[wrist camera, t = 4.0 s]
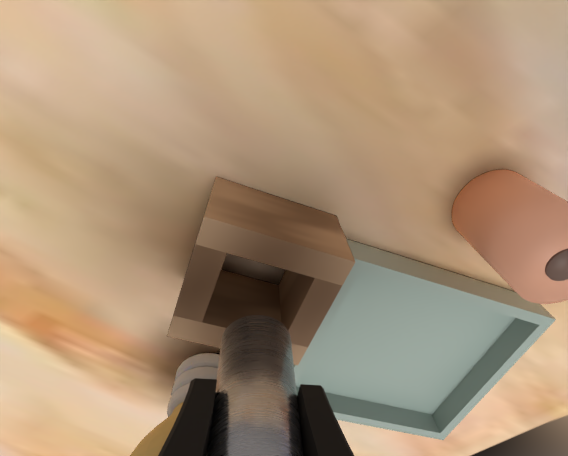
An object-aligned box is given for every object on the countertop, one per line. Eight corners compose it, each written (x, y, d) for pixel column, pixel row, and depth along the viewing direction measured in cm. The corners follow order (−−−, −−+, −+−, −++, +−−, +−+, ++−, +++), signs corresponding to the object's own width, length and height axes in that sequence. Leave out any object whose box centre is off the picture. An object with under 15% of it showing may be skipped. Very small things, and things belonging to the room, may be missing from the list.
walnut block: (336, 215, 18) (355, 262, 14) (291, 307, 20) (297, 365, 17) (216, 176, 16) (203, 216, 13) (184, 279, 19) (166, 336, 15)
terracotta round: (546, 184, 17) (644, 237, 13) (498, 247, 19) (570, 314, 15) (481, 158, 17) (561, 206, 12) (436, 227, 18) (493, 292, 14)
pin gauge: (298, 320, 12) (338, 608, 6) (282, 370, 13) (303, 660, 7) (227, 310, 12) (191, 607, 6) (216, 362, 13) (176, 661, 7)
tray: (533, 297, 21) (555, 319, 19) (431, 414, 26) (443, 440, 24) (346, 238, 18) (354, 258, 17) (271, 381, 23) (272, 407, 21)
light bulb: (207, 415, 24) (176, 633, 15) (132, 364, 22) (44, 593, 13) (283, 371, 23) (297, 587, 14) (212, 311, 20) (175, 530, 11)
